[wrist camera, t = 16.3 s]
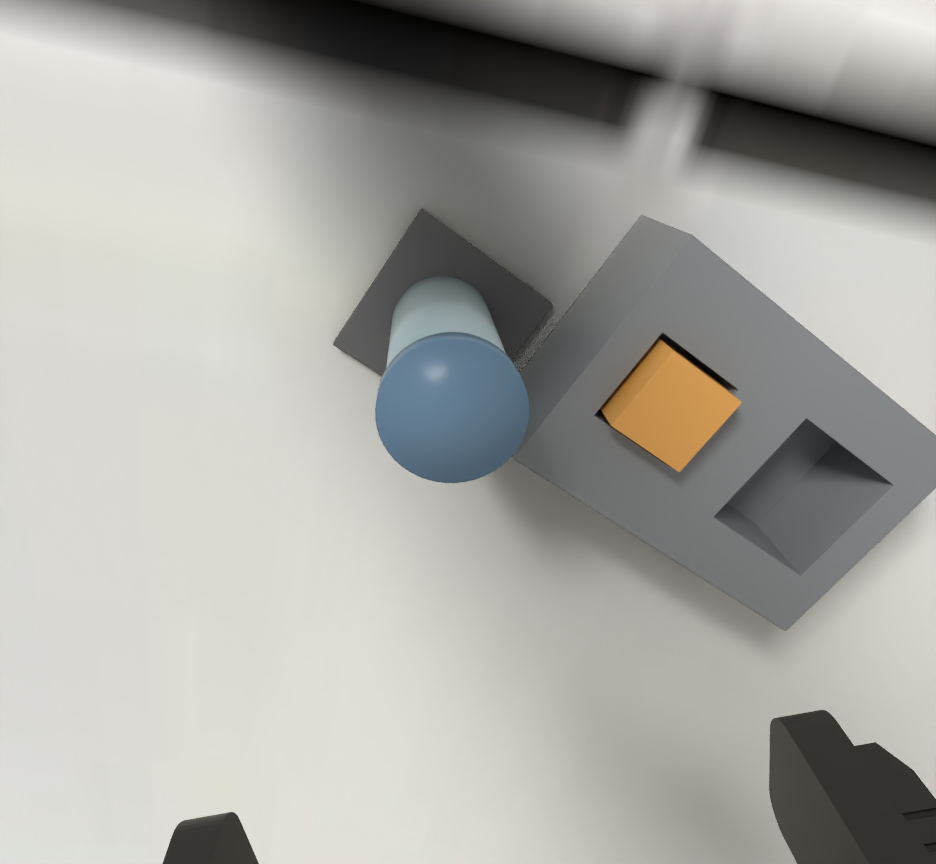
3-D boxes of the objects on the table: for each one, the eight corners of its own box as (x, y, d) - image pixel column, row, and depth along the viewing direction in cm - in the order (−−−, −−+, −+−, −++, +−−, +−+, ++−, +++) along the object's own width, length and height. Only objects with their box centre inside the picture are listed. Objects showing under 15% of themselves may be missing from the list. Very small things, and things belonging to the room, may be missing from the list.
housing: (497, 403, 38) (513, 458, 32) (641, 214, 35) (692, 235, 28) (730, 556, 43) (785, 631, 37) (877, 405, 40) (965, 459, 33)
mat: (334, 341, 36) (332, 344, 36) (421, 208, 34) (421, 209, 33) (460, 421, 38) (461, 425, 38) (550, 302, 36) (552, 305, 36)
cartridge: (377, 282, 35) (359, 355, 24) (485, 262, 35) (518, 326, 24) (399, 384, 37) (392, 494, 26) (501, 365, 37) (538, 468, 26)
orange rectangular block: (585, 385, 35) (611, 425, 30) (638, 320, 33) (673, 351, 29) (645, 427, 36) (679, 472, 31) (698, 365, 35) (742, 402, 30)
